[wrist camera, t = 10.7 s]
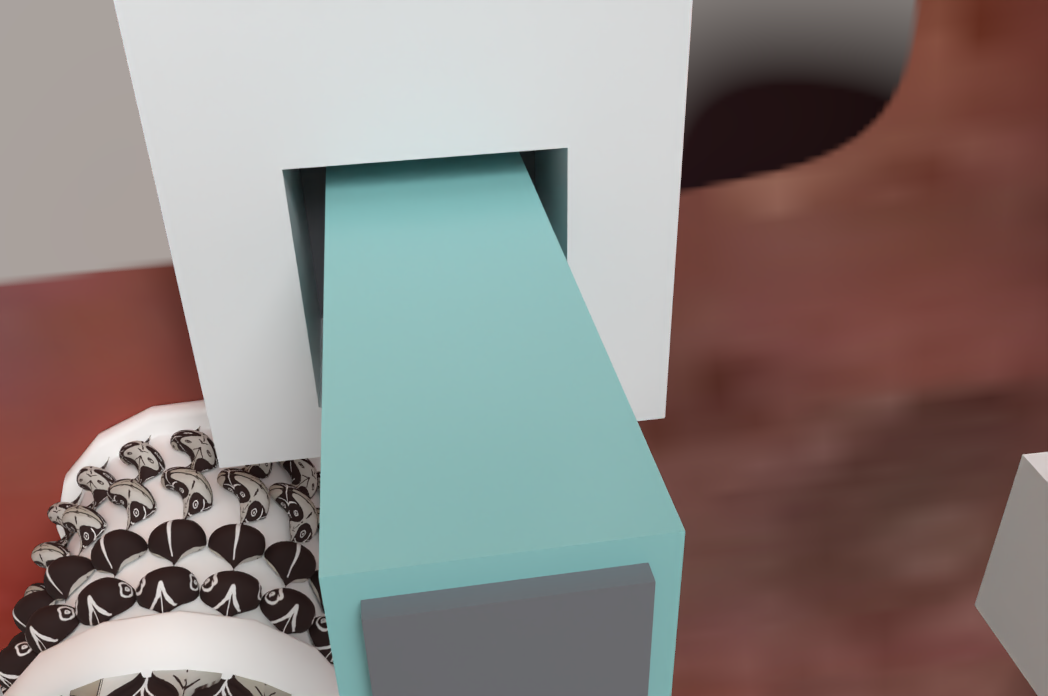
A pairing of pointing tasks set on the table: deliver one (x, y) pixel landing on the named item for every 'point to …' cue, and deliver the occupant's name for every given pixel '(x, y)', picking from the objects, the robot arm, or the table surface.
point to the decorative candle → (175, 573)
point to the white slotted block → (393, 135)
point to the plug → (479, 452)
